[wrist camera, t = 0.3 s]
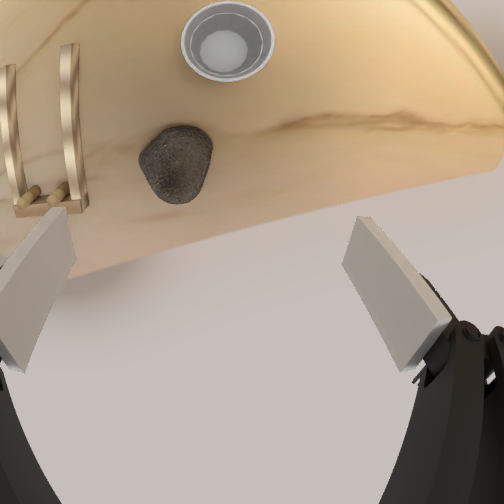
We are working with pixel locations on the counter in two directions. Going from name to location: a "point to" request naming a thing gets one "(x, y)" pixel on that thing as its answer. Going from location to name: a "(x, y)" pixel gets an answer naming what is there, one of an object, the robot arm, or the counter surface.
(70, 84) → the wooden u-shaped frame
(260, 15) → the cup
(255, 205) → the counter surface
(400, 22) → the counter surface
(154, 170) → the stone
